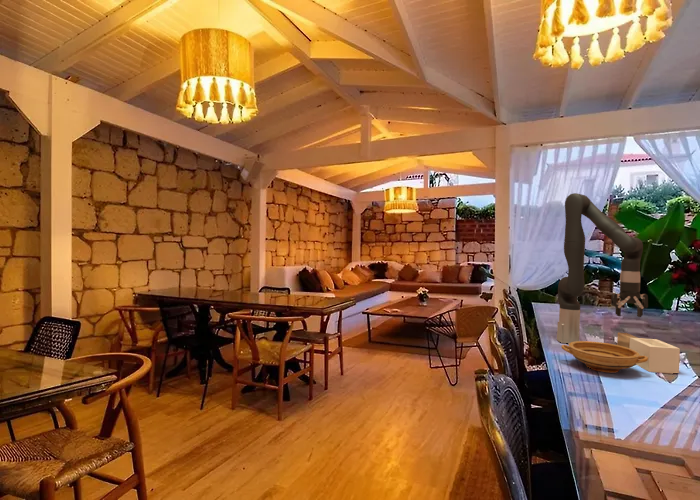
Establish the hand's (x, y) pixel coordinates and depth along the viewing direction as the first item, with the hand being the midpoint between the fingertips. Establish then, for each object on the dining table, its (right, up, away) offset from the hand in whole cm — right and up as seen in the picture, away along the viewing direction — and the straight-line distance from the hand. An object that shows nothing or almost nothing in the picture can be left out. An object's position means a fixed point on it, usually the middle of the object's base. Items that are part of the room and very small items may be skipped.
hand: (628, 316), depth 180 cm
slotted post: (-3, -18, -18) cm, 25 cm away
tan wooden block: (-1, -18, 0) cm, 18 cm away
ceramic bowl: (-26, -18, -21) cm, 37 cm away
